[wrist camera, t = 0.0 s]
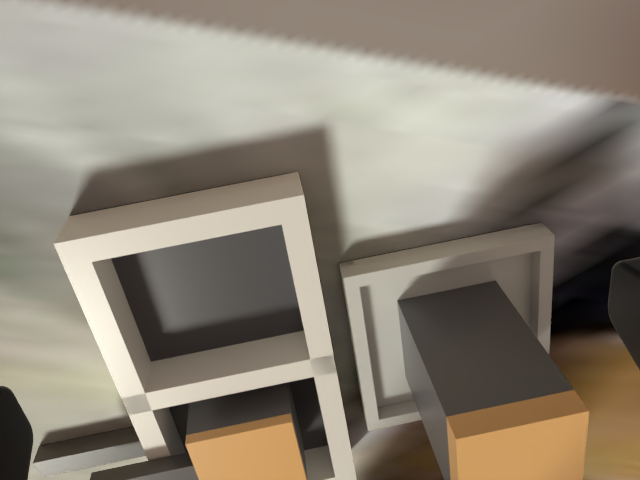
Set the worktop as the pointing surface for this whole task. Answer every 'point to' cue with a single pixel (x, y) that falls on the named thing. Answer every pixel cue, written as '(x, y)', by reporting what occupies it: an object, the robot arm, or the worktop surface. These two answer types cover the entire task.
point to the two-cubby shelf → (210, 310)
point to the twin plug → (200, 444)
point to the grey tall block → (489, 389)
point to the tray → (430, 277)
